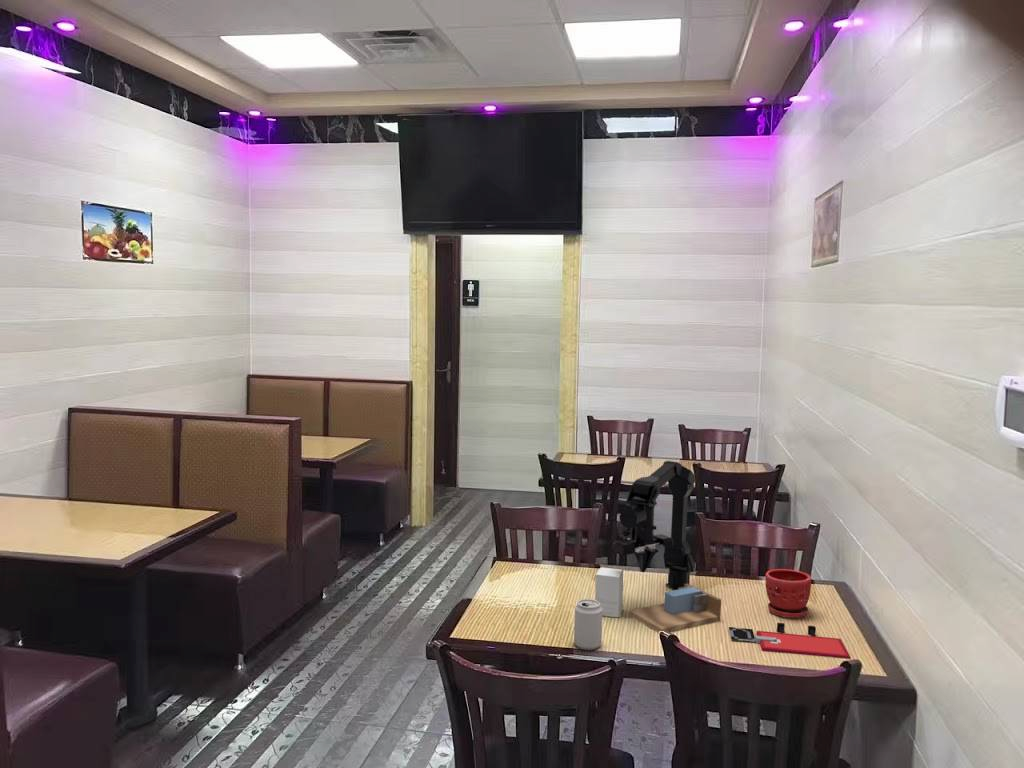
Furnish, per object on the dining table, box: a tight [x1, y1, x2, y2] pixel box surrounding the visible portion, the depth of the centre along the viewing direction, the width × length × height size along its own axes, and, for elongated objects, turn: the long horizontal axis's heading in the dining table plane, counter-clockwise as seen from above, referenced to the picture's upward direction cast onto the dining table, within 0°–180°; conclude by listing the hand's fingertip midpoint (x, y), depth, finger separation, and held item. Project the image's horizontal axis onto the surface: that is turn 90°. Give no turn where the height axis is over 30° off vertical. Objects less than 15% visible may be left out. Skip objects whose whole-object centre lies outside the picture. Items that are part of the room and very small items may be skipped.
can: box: [573, 598, 603, 651], centre depth 210 cm, size 8×8×12 cm
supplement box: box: [594, 567, 624, 618], centre depth 234 cm, size 7×7×13 cm
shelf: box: [629, 583, 722, 633], centre depth 231 cm, size 22×15×6 cm
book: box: [663, 586, 703, 615], centre depth 234 cm, size 11×4×6 cm, turn 118°
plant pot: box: [765, 568, 812, 619], centre depth 236 cm, size 13×13×12 cm
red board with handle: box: [728, 622, 851, 660], centre depth 215 cm, size 30×3×15 cm
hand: (642, 571), depth 236 cm, fingers closed
